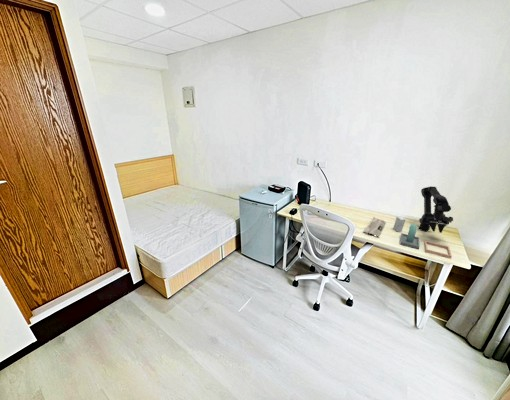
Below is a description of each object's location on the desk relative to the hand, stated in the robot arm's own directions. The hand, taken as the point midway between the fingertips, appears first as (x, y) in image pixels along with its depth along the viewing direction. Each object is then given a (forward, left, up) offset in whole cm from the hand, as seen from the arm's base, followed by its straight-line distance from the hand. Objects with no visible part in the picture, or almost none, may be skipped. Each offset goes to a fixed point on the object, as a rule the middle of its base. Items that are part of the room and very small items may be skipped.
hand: (437, 232), depth 169 cm
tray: (-9, -18, -9) cm, 22 cm away
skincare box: (-25, -6, -9) cm, 27 cm away
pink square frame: (+7, -11, -9) cm, 16 cm away
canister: (-9, -18, -8) cm, 21 cm away
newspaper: (-37, -20, -10) cm, 43 cm away
